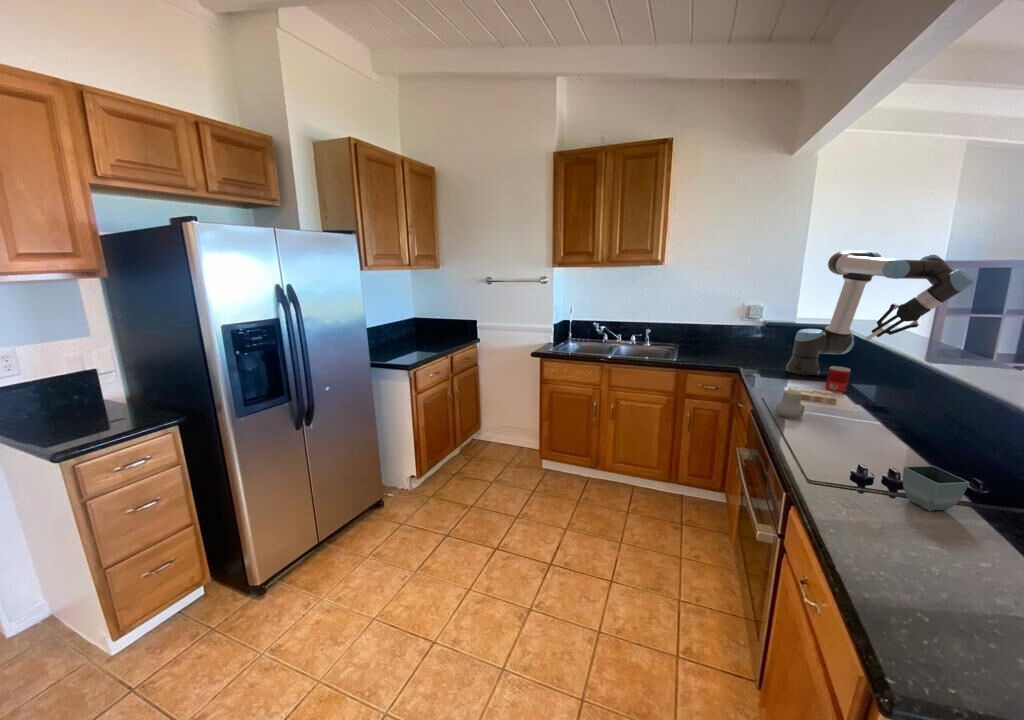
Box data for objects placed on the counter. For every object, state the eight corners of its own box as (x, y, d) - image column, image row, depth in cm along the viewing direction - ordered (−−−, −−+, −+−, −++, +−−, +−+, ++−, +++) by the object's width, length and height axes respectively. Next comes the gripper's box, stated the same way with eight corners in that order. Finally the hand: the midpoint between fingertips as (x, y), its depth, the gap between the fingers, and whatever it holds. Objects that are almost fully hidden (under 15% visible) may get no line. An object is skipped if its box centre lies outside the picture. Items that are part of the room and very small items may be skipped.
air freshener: (780, 410, 175) (784, 386, 172) (804, 415, 169) (808, 391, 167) (772, 416, 167) (776, 392, 165) (797, 423, 162) (801, 398, 159)
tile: (830, 396, 190) (788, 390, 198) (831, 391, 190) (789, 385, 197) (835, 404, 180) (791, 398, 187) (836, 399, 180) (792, 393, 187)
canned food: (849, 393, 197) (854, 370, 194) (829, 392, 198) (834, 369, 196) (840, 388, 204) (845, 366, 201) (821, 387, 206) (826, 365, 203)
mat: (783, 388, 204) (783, 386, 203) (845, 396, 193) (845, 395, 193) (788, 403, 183) (788, 401, 183) (857, 413, 172) (858, 412, 172)
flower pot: (894, 496, 113) (902, 465, 111) (924, 495, 114) (933, 465, 112) (928, 516, 104) (938, 483, 102) (960, 515, 105) (971, 482, 103)
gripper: (907, 292, 173) (853, 329, 191) (935, 316, 169) (877, 351, 186) (912, 290, 178) (858, 326, 195) (939, 313, 173) (881, 347, 190)
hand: (867, 338), depth 191 cm, fingers closed
